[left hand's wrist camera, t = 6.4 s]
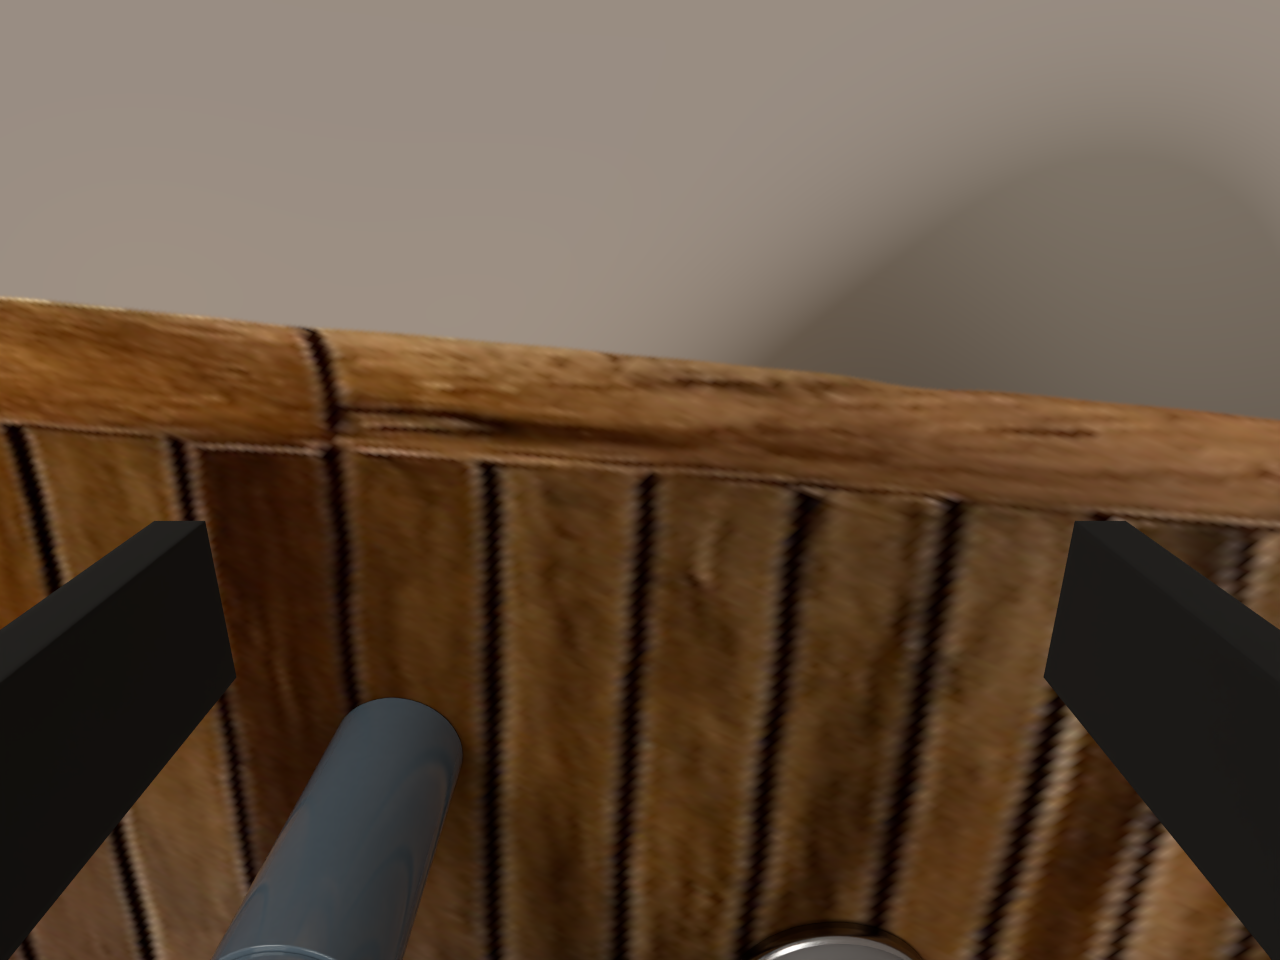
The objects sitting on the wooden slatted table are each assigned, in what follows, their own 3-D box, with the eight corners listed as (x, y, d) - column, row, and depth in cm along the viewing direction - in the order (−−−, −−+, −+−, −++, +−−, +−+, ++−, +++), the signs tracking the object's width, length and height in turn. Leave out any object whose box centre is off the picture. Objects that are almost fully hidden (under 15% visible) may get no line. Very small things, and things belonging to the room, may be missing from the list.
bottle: (368, 676, 49) (150, 1075, 27) (485, 733, 51) (368, 1157, 29) (313, 768, 52) (73, 1203, 30) (427, 820, 53) (278, 1273, 31)
